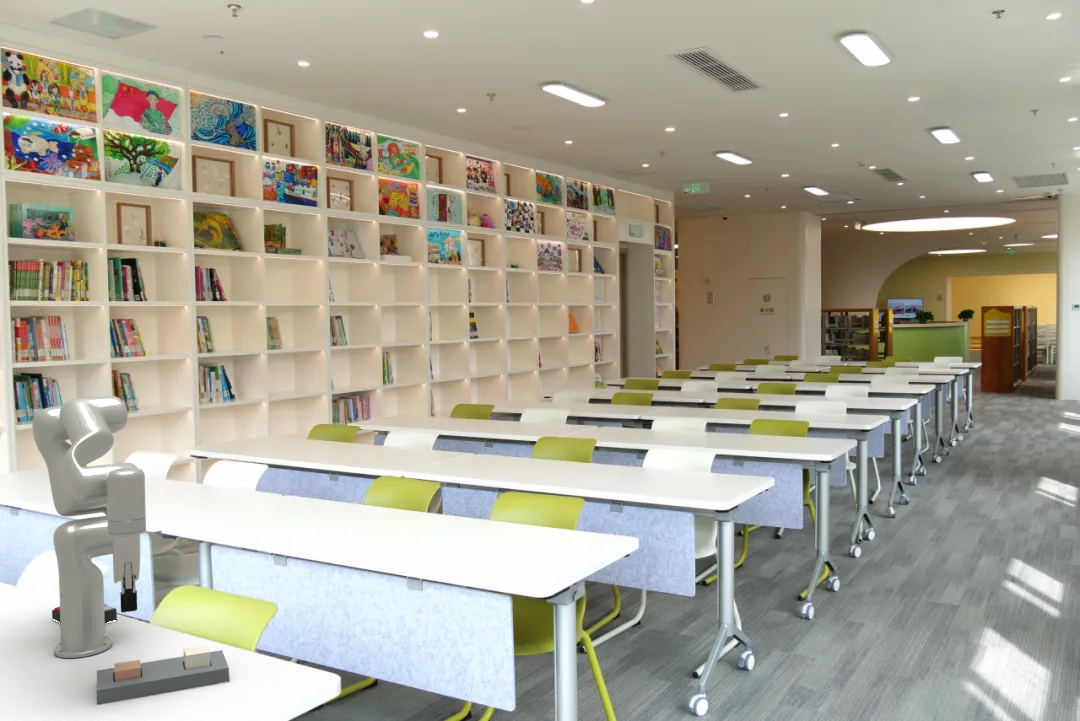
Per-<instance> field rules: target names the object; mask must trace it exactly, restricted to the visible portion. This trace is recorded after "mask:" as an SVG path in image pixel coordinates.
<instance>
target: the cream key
mask: <svg viewBox="0 0 1080 721" xmlns="http://www.w3.org/2000/svg"><path fill="white" fill-rule="evenodd" d="M210 652H211V651H210V649H209V645H208V644H204V645H196V646H192V647H191V646H190V647H185V648H183V656H184V668H185V670H188V669H194V668H200V667H206V666H210Z"/></svg>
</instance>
